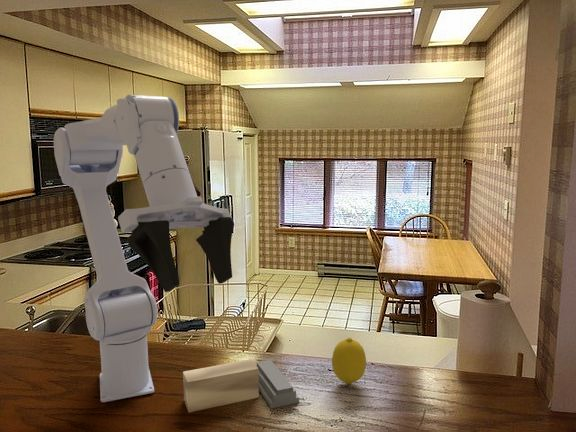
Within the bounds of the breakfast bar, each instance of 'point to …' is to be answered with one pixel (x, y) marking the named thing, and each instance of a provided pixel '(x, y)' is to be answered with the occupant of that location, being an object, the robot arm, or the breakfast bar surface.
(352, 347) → the lemon
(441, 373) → the breakfast bar surface
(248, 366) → the bar
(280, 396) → the stepped block
